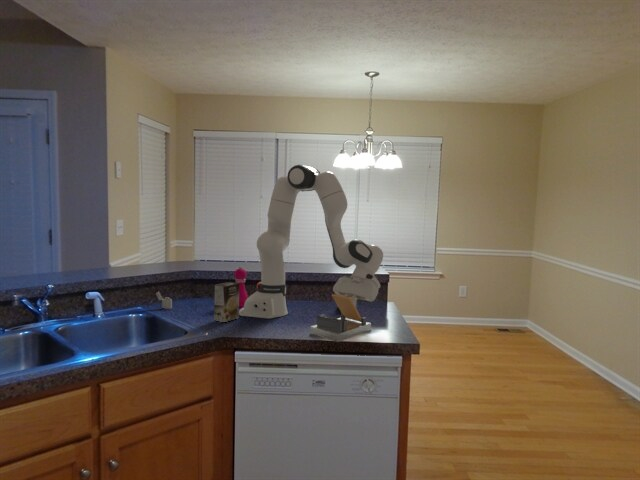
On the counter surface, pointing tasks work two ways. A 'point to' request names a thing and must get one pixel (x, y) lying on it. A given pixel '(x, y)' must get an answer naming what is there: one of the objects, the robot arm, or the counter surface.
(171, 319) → the counter surface
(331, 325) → the grey and white fixture
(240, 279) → the pepper mill
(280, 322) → the counter surface
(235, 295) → the coffee box
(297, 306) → the counter surface
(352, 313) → the tan flat panel
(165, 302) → the lighter
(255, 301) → the robot arm
